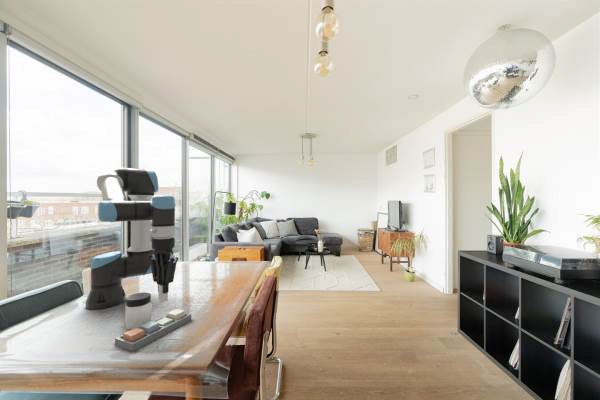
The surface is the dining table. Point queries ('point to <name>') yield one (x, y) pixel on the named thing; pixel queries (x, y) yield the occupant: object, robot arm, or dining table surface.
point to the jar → (138, 310)
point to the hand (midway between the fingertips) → (163, 301)
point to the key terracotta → (133, 334)
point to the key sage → (165, 321)
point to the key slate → (150, 327)
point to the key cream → (176, 314)
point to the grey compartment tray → (153, 334)
